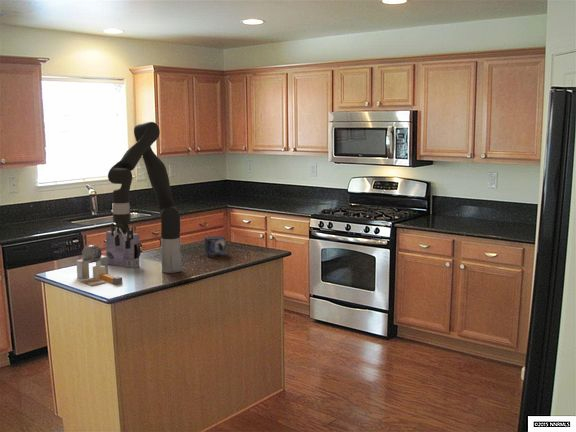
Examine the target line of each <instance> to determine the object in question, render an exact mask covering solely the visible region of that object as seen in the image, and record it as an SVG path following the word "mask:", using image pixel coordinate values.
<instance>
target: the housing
mask: <svg viewBox="0 0 576 432" xmlns="http://www.w3.org/2000/svg"><path fill="white" fill-rule="evenodd" d="M81 257H82V258H81V259H77V260H76V277H77V278H78V279H82V280H86V279H90V265H89V264H94V263H95V266H99V265H102V266H105V267H106V274H109V268H108V267H109V266H108V265H109V264H108V263H107V256H106V255H102V249H101V248H100V247H99V246H97V245H94V244H87V245H85V246H84V247H83V248H82V250H81Z"/></svg>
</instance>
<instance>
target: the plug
mask: <svg viewBox="0 0 576 432" xmlns="http://www.w3.org/2000/svg"><path fill="white" fill-rule="evenodd" d="M92 278H97V279H100V280H102V281H105V282H106V283H107V282H108V283H111V284H113V285H116V286H119V285H122V284H123V276H119V275H118V276H115V275H111V274H109V273H107V274H106V267H105V266H102V265H99V266H96V265H95V266H92Z"/></svg>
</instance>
